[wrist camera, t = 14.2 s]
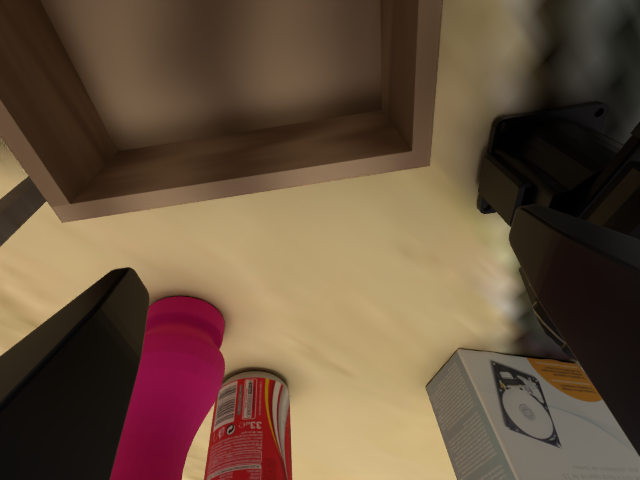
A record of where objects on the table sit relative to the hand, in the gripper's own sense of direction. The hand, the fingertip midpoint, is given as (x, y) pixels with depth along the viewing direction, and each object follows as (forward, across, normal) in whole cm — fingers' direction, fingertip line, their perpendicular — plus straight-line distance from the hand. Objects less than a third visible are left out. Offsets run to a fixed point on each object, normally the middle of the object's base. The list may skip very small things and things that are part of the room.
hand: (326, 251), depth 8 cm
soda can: (+13, +9, +27) cm, 31 cm away
